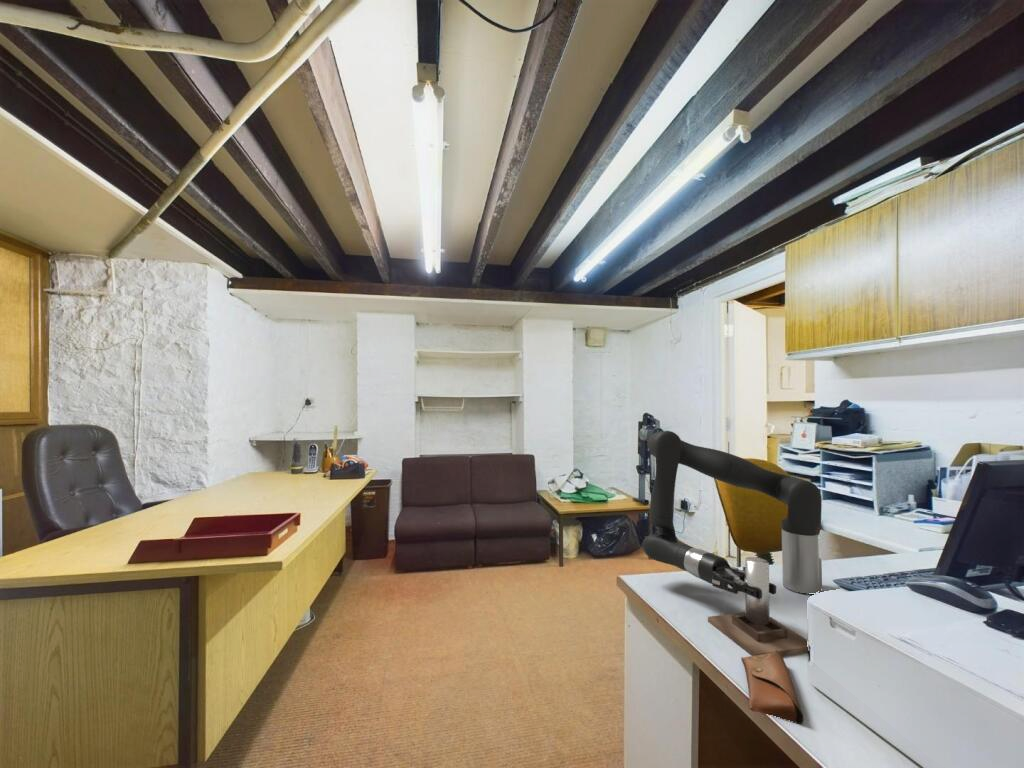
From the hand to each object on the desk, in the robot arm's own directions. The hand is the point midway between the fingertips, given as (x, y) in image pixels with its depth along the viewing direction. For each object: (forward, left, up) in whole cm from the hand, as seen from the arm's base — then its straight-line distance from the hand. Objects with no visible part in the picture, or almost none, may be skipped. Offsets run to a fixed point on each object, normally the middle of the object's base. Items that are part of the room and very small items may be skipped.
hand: (768, 592), depth 97 cm
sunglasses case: (+13, +13, -12) cm, 22 cm away
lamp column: (+1, -3, -7) cm, 8 cm away
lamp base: (+1, -2, -11) cm, 12 cm away
